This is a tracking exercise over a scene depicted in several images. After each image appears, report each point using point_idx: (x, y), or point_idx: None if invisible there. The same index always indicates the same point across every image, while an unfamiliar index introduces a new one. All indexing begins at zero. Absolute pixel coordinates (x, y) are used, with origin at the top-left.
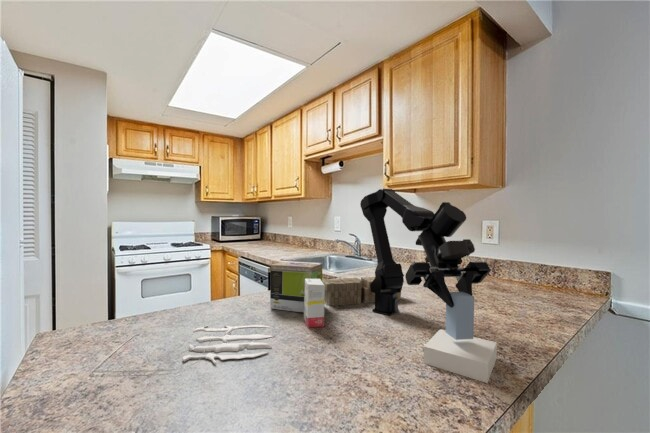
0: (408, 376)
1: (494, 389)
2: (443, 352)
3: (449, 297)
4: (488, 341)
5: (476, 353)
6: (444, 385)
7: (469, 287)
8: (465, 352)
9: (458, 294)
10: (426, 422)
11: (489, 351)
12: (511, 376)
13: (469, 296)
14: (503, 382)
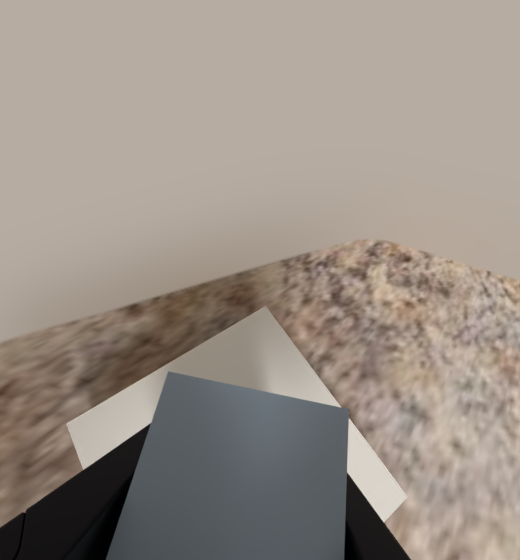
0: (457, 425)
1: (266, 303)
2: (350, 421)
3: (362, 511)
4: (91, 443)
5: (242, 369)
6: (375, 354)
7: (23, 546)
8: (274, 388)
9: (264, 492)
10: (467, 274)
11: (182, 366)
12: (168, 329)
13: (210, 388)
14: (217, 316)
